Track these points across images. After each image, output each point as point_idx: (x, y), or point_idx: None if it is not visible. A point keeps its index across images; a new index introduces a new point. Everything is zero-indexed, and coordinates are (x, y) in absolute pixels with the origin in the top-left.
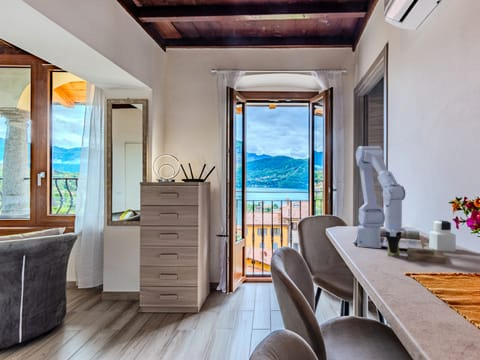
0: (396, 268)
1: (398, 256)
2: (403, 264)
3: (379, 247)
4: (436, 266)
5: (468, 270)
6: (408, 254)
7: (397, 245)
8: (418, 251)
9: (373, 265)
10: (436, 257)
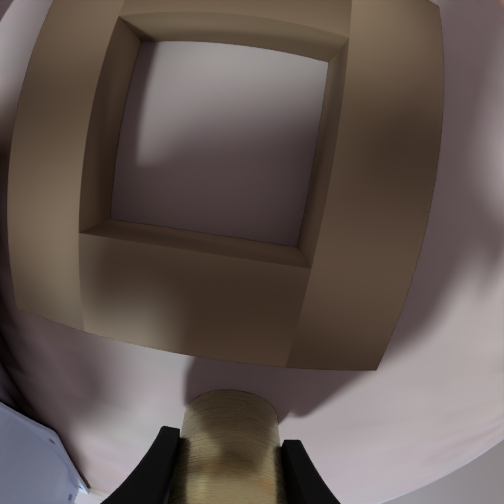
0: (501, 382)
1: (258, 398)
2: (463, 363)
3: (56, 439)
4: (499, 148)
5: (494, 5)
6: (376, 365)
7: (336, 499)
8: (90, 199)
9: (446, 454)
10: (440, 76)
